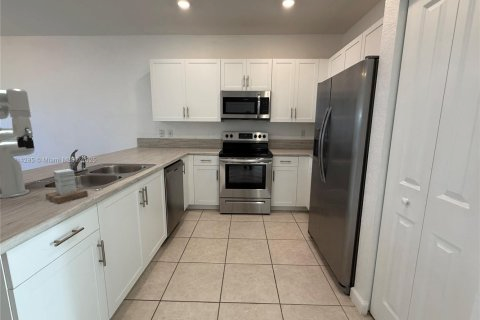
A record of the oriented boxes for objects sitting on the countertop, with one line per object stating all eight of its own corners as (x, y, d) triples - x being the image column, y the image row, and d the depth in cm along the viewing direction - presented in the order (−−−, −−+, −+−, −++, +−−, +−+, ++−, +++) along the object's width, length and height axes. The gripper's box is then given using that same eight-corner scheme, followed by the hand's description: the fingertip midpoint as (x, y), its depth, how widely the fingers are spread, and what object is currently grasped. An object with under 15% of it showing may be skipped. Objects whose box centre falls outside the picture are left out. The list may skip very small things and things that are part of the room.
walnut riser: (46, 199, 119) (45, 194, 119) (75, 192, 132) (74, 187, 131) (58, 204, 113) (57, 198, 112) (87, 196, 125) (87, 191, 124)
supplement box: (56, 193, 121) (52, 170, 119) (72, 189, 127) (69, 168, 124) (60, 195, 116) (57, 172, 114) (77, 192, 122) (74, 170, 120)
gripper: (4, 114, 112) (10, 147, 115) (17, 113, 104) (23, 149, 107) (23, 115, 119) (28, 146, 122) (37, 114, 111) (42, 148, 114)
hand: (26, 147), depth 114 cm, fingers open, 9 cm apart
